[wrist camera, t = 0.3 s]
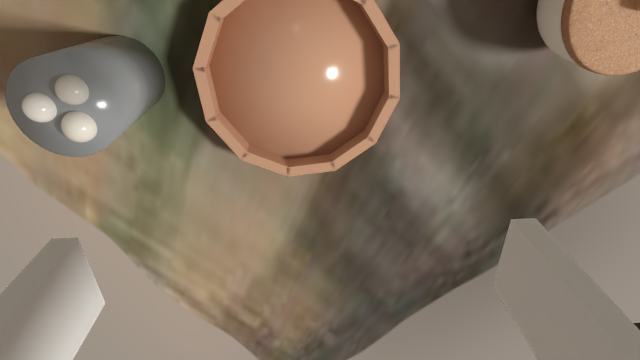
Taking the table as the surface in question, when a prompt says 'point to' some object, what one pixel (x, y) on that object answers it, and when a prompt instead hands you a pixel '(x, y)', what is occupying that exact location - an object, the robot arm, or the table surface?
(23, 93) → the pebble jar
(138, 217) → the table surface
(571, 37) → the lidded jar
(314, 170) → the terracotta bowl
